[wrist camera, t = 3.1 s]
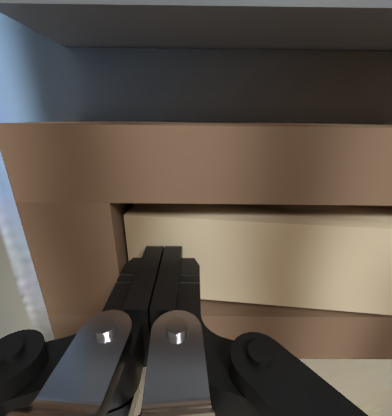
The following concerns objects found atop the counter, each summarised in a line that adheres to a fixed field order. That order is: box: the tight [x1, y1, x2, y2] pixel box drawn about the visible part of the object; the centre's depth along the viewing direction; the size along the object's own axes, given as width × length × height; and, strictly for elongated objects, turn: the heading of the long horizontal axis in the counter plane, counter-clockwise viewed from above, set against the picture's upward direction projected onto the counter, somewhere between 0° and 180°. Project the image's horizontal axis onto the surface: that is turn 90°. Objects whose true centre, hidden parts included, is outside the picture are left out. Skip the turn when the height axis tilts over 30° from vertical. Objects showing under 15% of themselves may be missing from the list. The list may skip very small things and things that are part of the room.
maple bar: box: [124, 203, 392, 315], centre depth 11 cm, size 12×4×2 cm, turn 89°
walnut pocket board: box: [0, 121, 392, 359], centre depth 13 cm, size 20×11×6 cm, turn 89°
